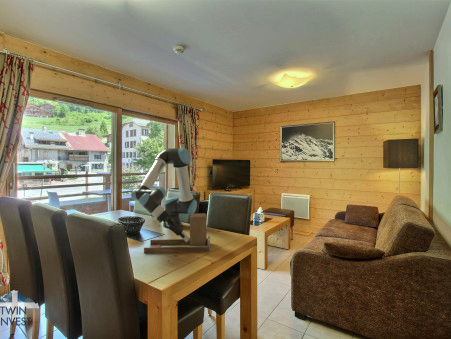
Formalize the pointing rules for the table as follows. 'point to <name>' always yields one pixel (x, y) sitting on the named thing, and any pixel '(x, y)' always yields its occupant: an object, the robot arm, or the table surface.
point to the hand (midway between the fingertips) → (188, 240)
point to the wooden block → (198, 230)
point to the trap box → (157, 249)
